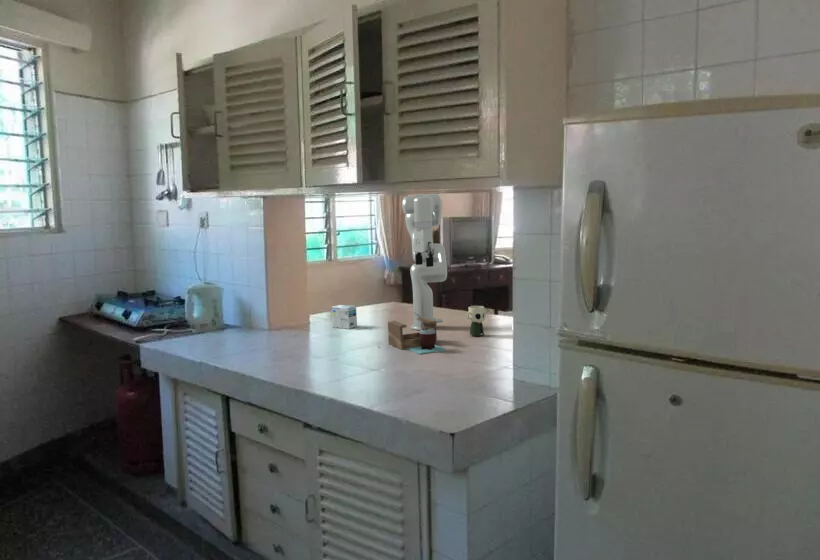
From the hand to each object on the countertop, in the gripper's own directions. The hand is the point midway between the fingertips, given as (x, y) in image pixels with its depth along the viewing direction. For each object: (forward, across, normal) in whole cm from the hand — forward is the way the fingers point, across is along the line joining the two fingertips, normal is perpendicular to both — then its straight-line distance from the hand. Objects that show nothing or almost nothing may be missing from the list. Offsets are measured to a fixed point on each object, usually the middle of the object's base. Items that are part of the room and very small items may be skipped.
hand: (424, 265), depth 276 cm
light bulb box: (+34, -50, -19) cm, 63 cm away
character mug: (+33, +5, +23) cm, 41 cm away
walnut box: (+33, +4, -9) cm, 34 cm away
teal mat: (+33, +17, -9) cm, 38 cm away
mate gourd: (+32, +17, -9) cm, 37 cm away
